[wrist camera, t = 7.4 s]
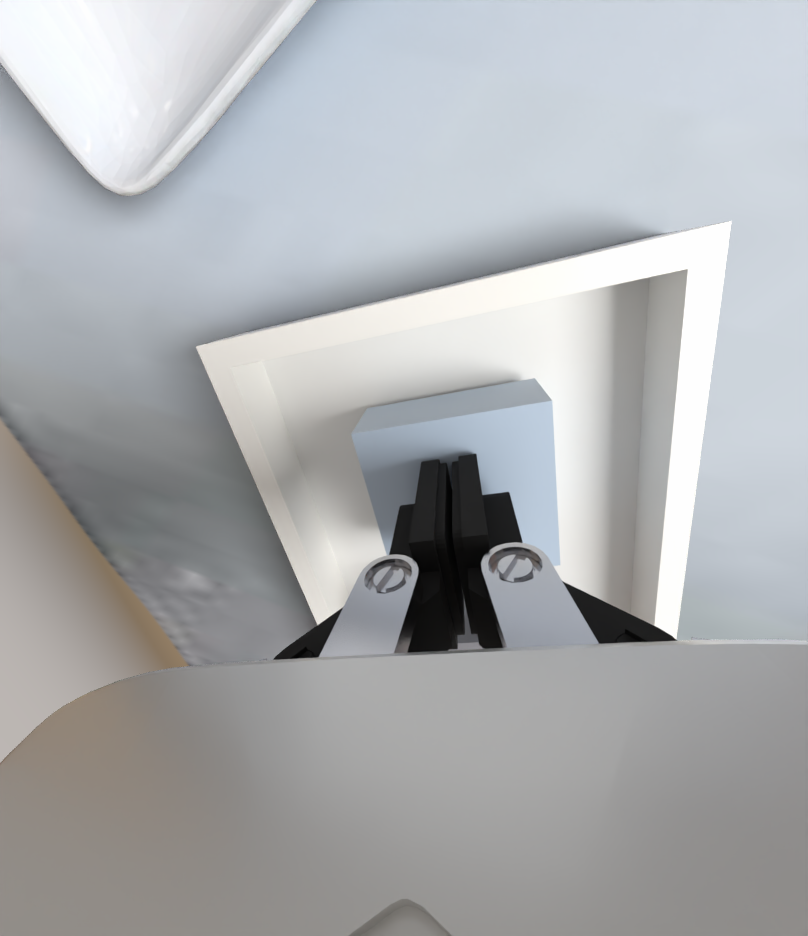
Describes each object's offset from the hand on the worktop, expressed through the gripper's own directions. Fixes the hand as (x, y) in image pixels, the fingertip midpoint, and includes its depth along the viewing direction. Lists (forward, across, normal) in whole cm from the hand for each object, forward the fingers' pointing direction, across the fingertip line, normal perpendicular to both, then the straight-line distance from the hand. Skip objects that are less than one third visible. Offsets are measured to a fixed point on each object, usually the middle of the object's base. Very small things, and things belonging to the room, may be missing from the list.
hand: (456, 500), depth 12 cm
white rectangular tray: (+4, 0, +8) cm, 9 cm away
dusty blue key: (+2, 0, 0) cm, 2 cm away
